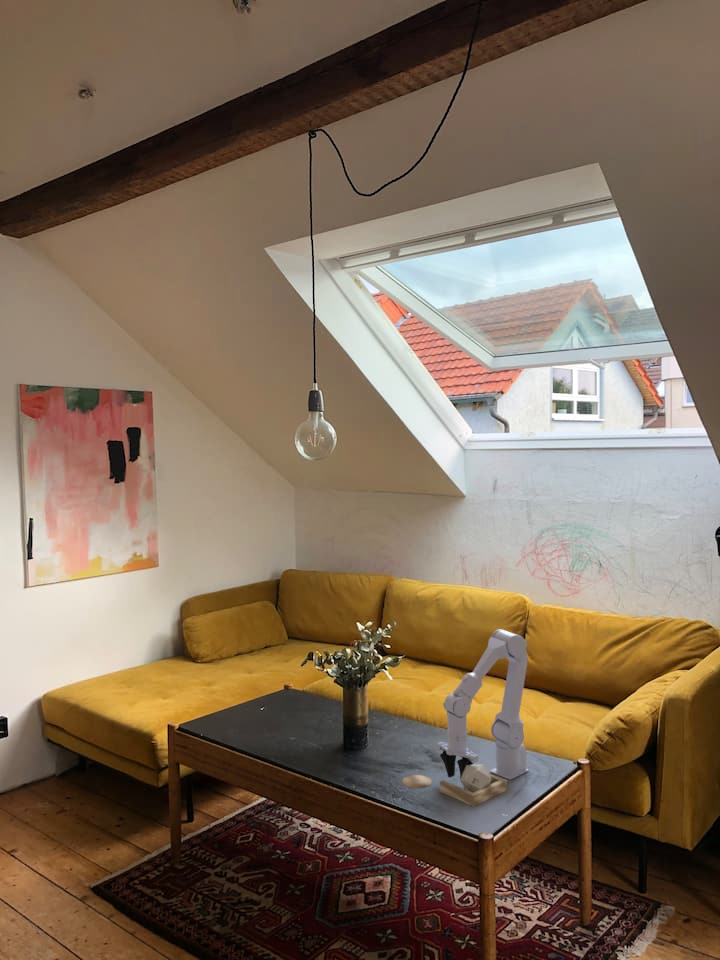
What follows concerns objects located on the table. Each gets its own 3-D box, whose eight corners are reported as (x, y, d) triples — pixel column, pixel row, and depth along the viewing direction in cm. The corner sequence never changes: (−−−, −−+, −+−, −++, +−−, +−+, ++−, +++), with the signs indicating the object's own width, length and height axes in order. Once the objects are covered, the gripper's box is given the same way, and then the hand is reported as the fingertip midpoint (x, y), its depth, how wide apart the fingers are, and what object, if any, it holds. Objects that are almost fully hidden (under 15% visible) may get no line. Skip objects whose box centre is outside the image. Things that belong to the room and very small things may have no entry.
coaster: (416, 774, 243) (416, 772, 243) (437, 783, 237) (437, 781, 237) (396, 782, 238) (396, 781, 238) (417, 792, 231) (417, 790, 231)
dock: (473, 776, 240) (473, 767, 240) (507, 790, 230) (506, 780, 230) (439, 791, 230) (439, 781, 230) (473, 806, 220) (473, 795, 220)
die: (454, 792, 230) (459, 775, 224) (466, 769, 236) (471, 752, 230) (480, 806, 228) (485, 789, 222) (491, 783, 234) (497, 766, 227)
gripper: (430, 731, 237) (430, 775, 237) (466, 744, 226) (467, 790, 226) (446, 725, 241) (446, 768, 242) (482, 738, 230) (482, 783, 231)
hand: (457, 779), depth 234 cm, fingers open, 5 cm apart
